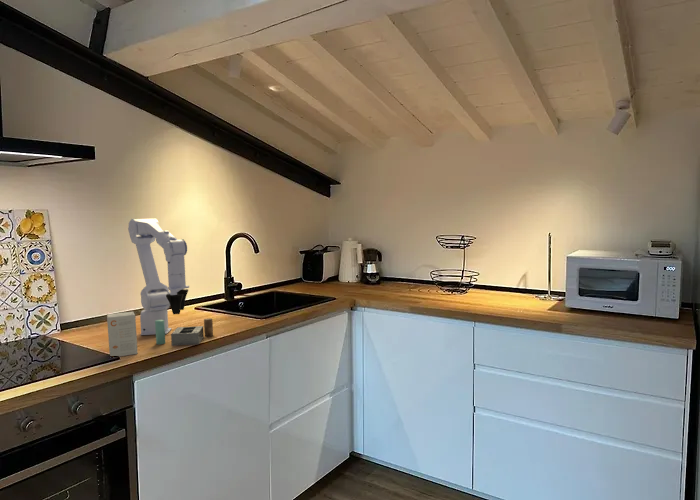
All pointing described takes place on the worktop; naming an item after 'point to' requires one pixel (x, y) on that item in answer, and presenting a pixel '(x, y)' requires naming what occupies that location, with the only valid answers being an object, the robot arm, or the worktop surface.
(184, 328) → the bore block
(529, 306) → the worktop surface
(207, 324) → the walnut dowel
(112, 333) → the small box
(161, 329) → the teal dowel
